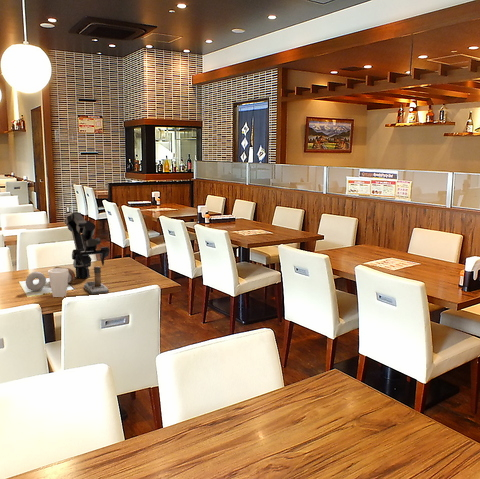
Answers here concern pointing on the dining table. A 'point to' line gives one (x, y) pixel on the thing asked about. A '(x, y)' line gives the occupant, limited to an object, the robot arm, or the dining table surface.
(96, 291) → the rail base
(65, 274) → the foam cup
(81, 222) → the robot arm
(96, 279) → the slide handle
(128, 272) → the dining table surface
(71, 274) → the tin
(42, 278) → the donut
